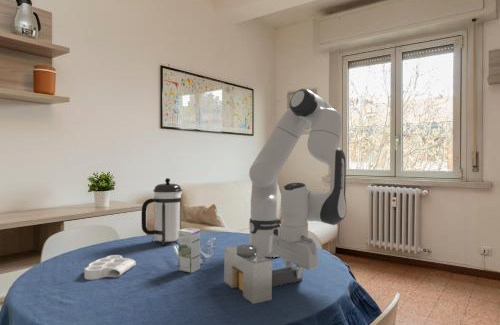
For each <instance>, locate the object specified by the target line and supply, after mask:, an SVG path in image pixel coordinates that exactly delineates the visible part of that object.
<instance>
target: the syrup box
mask: <svg viewBox="0 0 500 325" xmlns="http://www.w3.org/2000/svg"><path fill="white" fill-rule="evenodd" d="M177 243H178V247H177V248H178V249H177V250H178V251H177V253H178V255H177V256H178V257H177V258H178V264H177V265H178V267H177V268H178V269H177V270H178V271H179V272H185V273H190V274H192V273H195V272H196V271H198V270H200V269H201V229H200V228H193V227H184V228H181V230H178V240H177Z"/></svg>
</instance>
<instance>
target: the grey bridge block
mask: <svg viewBox="0 0 500 325" xmlns="http://www.w3.org/2000/svg"><path fill="white" fill-rule="evenodd" d="M223 248H224V250H223V254H224V255H223V257H224V258H223V259H224V261H223V267H224V268H223V280H224V281H223V282H224V283H225V284H226V285H228V286H229V287H230V288H231V289H234V288H239V272H243V291H242V297H243V298H245V299H246V300H247V301H249V302H250V303H251V304H252V305H254V304H258V303H264V302H267V301H272V298H273V291H272V290H273V287H272V271H273V260H271V259H268V257H263V256H261V255H259V254H257V247H256V246H253V245H248V244H239V245H236V246H234V245H233V246H226V247H223Z"/></svg>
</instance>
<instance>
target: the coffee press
mask: <svg viewBox="0 0 500 325" xmlns="http://www.w3.org/2000/svg"><path fill="white" fill-rule="evenodd" d="M164 181H165V183H159V184H157V185H156V186H154V188H153V193H154V194H153V196H154V197H153V198H148V199H145V201H144V202H143V204H142V206H141V229H142V231H143V233H145V234H147V235H153V237H152V239H151V242H152V243H155V242H156V241H157V242H161V243H160V245H161V247H165V246H166V244H167V243H168V242H169V243H170V242H174V241H178V230H181V229H182V195H183V191H182V190H183V189H182V188H181V186H180V184H177V183H170V182H171V179H170V178H169V177H166V178H165V180H164ZM152 203H154V204H153V230H149V229H148V228H147V207H148V206H149V204H152ZM154 239H155V240H154Z"/></svg>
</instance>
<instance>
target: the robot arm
mask: <svg viewBox="0 0 500 325" xmlns="http://www.w3.org/2000/svg"><path fill="white" fill-rule="evenodd" d="M342 122H343V120H342V115H341V113H340V112H339V111H338V110H336V108H335V107H333V106H332V105H331V104H330V103H329V102H328V101H326V100H325V99H324V98H322V97H321V96H319V95H317V94H316V93H314V92H313V91H311V90H310V89H307V88H300V89H299V90H296V91H295V92H294V93H293V94H292V96H291V97H290V101H289V108H288V109H287V110H286V111H285V112H284V113H283V115H281V117H280V119H279V120H278V122H277V123H276V124H275V126H274V128H273V130H272V132H271V134H270V135H269V137H268V139H267V140H266V142H265V144H264V145H263V147H262V148H261V150H260V152H259V153H258V154H257V156H256V157H255V159H254V161H253V162H252V165H250V168H249V172H248V176H249V178H250V181H251V194H250V195H251V196H250V218H249V224H248V225H249V226H248V227H249V240H248V244H247V245H253V246H256V247H257V254H259V255H261V256H263V257H265V258H272V257H273V258H272V259H274V258H275V257H277V258H281V259H282V260H283V261H284V264H285V268H289V267H293V265H295V266H296V267H297V268H298V269H297V272H295V277H296V278H298V279H299V278H301V277H302V278H303V271H304V270H308V271H311V270H315V269H317V268H318V267H319V257H318V255H319V254H318V248H317V245H316V243H315V242H314V239H313V238H310V237H309V223H308V222H309V221H314V222H321V223H322V224H327V225H330V226H331V225H332V226H336V225H338V224H340V222H342V221H343V220H344V219H345V217H346V215H347V199H346V182H347V181H346V177H347V176H346V175H347V169H346V168H347V166H346V165H347V162H346V154H345V152H344V150H343V149H341V148H340V147H341V146H340V140H341V134H342V127H343V126H342ZM307 128H310V131H309V134H308V138H307V150H308V152H309V154H310V155H311V156H312V157H313V158H315V159H316V160H317V161H319V162H320V163H323V164H325V165H327V166H329V169H330V178H329V180H330V181H329V182H330V183H329V191H328V192H316V191H311V190H309V189H307V185H306V184H305V183H303V182H292V183H287V184H285V185H284V186H282V192H281V195H280V196H281V197H280V213H281V219H279V218H278V182H279V181H278V177H279V176H278V175H279V173H280V172H281V170H282V168H283V167H284V165H285V164H286V162H287V161H288V158H289V157H290V156H291V153H292V152H293V150H294V148H295V146H296V145H297V143H298V141H299V140H300V138H301V136H302V134H303V132H304V130H306V129H307ZM292 264H293V265H292Z"/></svg>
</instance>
